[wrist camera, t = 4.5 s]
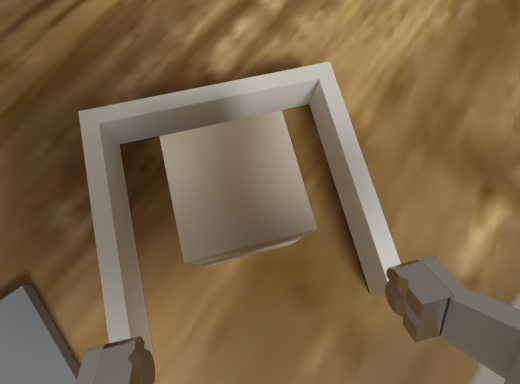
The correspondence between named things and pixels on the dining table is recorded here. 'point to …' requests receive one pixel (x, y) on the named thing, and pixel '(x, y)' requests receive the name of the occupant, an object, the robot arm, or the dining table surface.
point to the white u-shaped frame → (204, 114)
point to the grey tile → (32, 343)
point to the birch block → (236, 189)
